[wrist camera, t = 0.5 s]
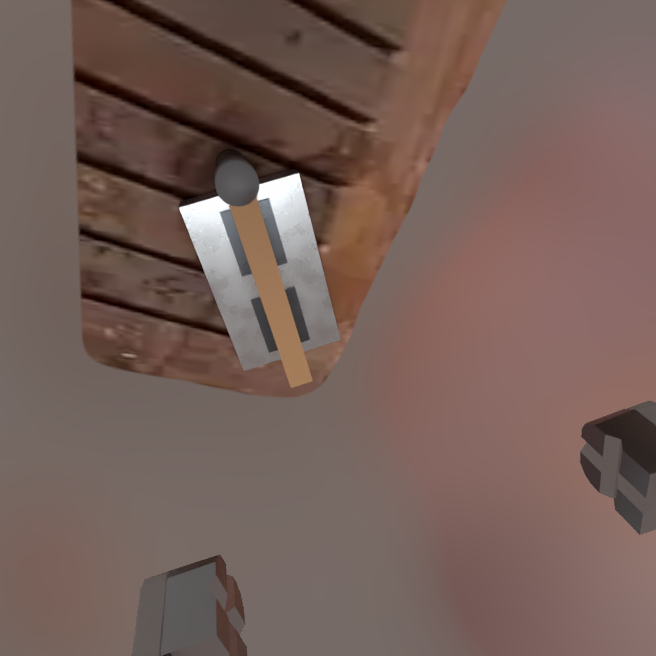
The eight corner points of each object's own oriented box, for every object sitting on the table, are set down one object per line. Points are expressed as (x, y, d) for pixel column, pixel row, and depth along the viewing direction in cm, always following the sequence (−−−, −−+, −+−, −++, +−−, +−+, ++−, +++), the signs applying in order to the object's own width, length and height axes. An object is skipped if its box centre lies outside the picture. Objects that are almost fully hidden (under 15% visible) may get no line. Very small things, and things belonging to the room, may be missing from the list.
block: (166, 166, 45) (161, 180, 40) (285, 132, 46) (296, 141, 41) (242, 359, 58) (246, 390, 52) (335, 329, 59) (349, 357, 53)
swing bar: (208, 163, 40) (208, 168, 38) (249, 152, 40) (252, 156, 38) (282, 377, 52) (285, 389, 50) (313, 366, 52) (317, 379, 50)
